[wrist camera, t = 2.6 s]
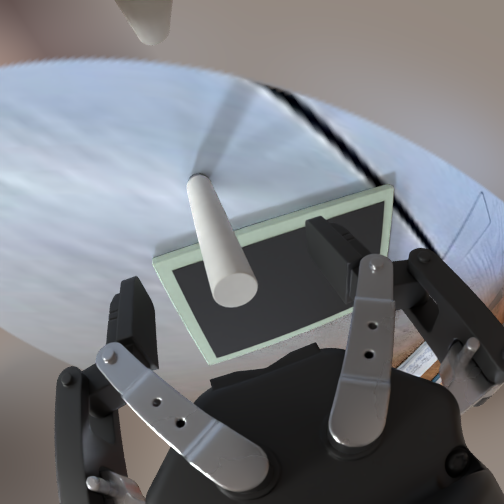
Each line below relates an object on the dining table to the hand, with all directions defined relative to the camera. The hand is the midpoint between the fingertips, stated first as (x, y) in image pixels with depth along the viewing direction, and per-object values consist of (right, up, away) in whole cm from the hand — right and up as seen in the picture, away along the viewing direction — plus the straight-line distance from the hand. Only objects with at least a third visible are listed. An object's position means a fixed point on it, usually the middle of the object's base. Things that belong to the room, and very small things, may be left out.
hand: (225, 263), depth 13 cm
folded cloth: (+40, -29, +47) cm, 69 cm away
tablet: (+5, -3, +16) cm, 17 cm away
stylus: (-3, +6, +7) cm, 10 cm away
